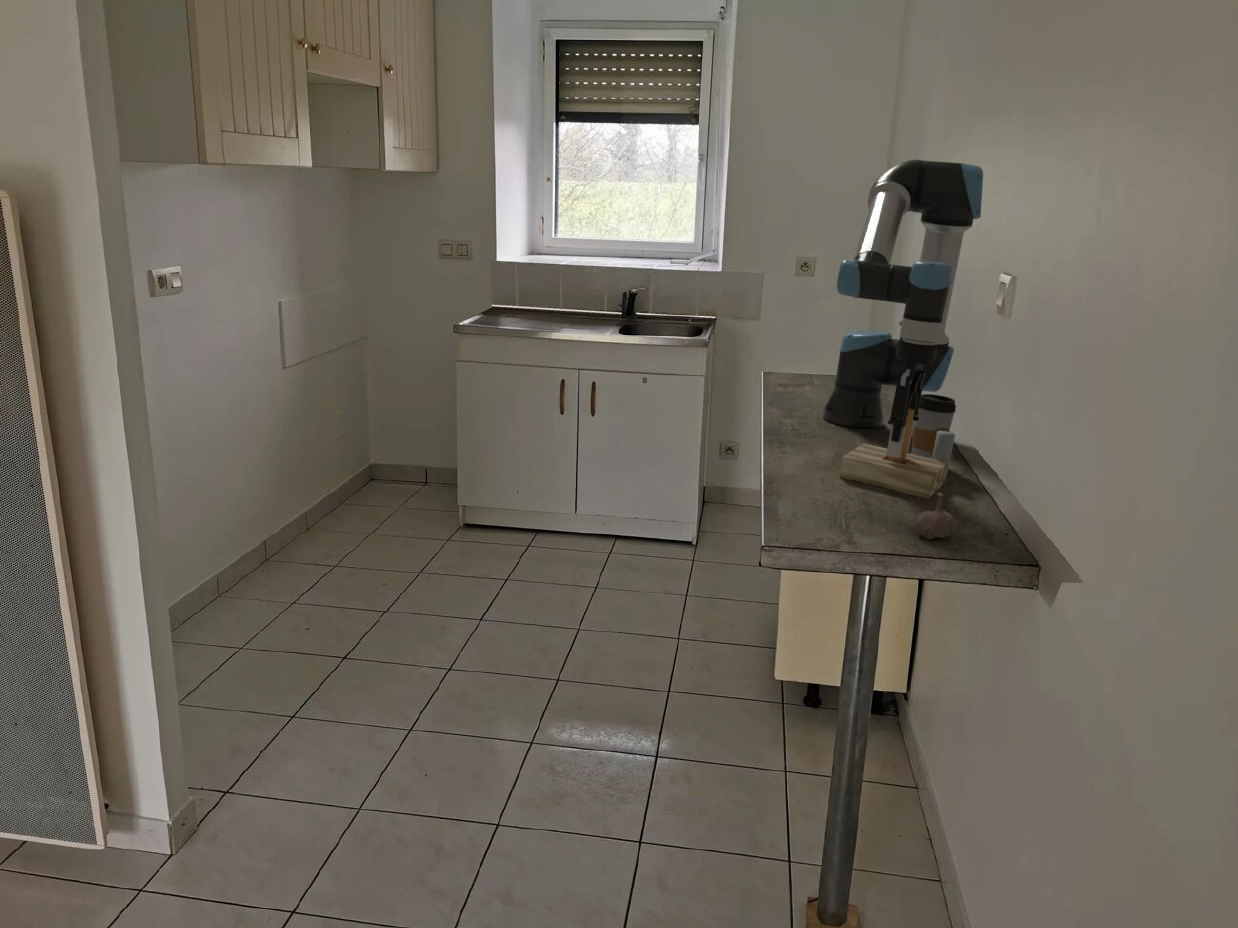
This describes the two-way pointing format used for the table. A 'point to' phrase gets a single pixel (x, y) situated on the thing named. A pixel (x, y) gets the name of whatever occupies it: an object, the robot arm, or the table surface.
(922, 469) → the bore block
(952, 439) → the grey dowel
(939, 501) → the garlic bulb
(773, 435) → the table surface
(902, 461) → the tapered brown peg
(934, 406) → the coffee cup
